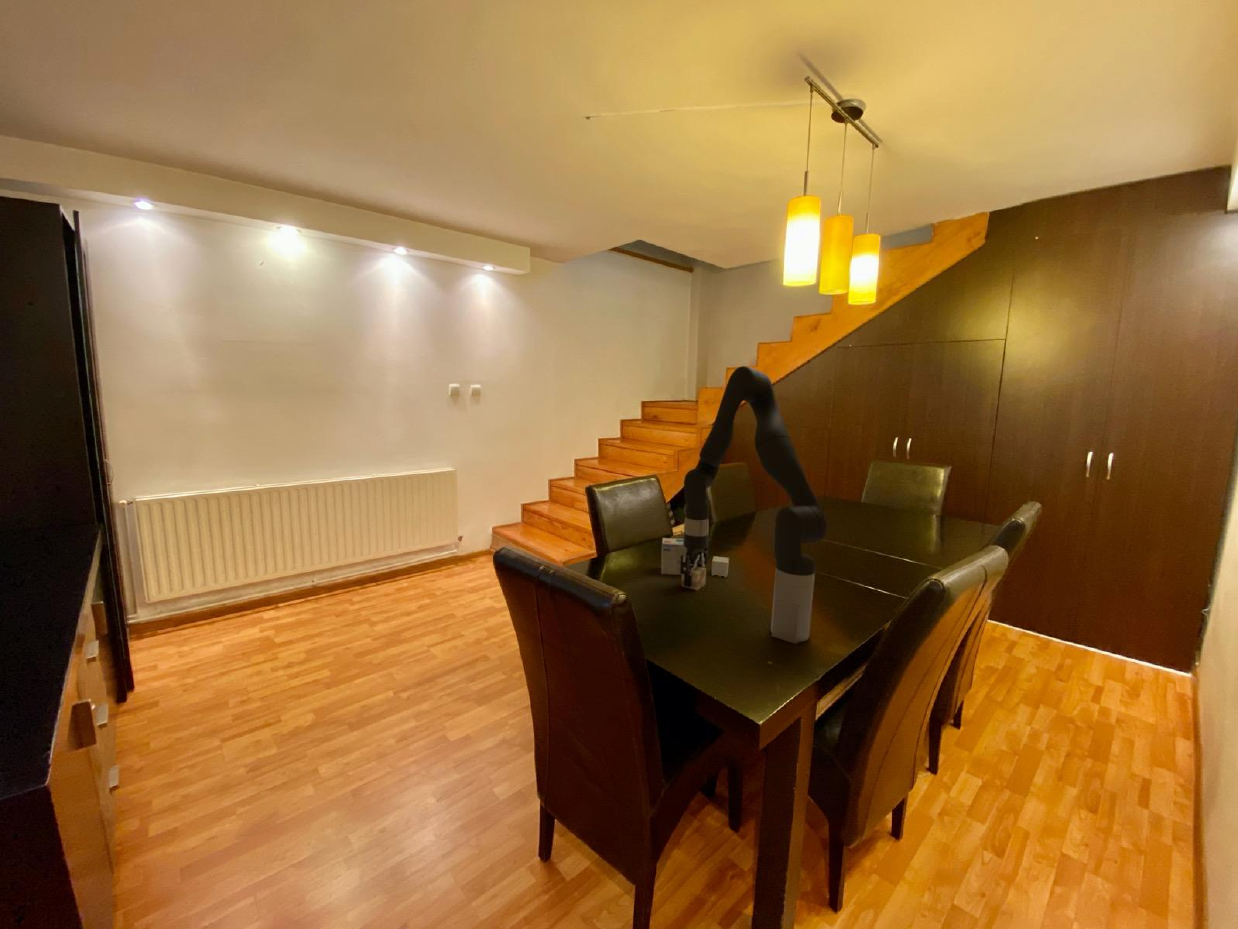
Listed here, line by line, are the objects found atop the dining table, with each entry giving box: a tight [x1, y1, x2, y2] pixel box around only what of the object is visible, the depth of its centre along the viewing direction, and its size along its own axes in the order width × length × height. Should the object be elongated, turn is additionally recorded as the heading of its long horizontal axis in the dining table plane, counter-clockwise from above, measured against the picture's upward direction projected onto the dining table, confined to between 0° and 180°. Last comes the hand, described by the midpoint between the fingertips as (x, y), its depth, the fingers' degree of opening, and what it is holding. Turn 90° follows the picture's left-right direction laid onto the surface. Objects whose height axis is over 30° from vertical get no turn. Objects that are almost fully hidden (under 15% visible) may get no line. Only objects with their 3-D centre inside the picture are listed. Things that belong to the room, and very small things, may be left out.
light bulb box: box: [660, 537, 693, 576], centre depth 166 cm, size 11×7×11 cm, turn 84°
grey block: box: [711, 555, 730, 578], centre depth 166 cm, size 5×5×5 cm
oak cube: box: [680, 566, 707, 591], centre depth 155 cm, size 6×6×6 cm
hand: (693, 582), depth 156 cm, fingers open, 7 cm apart
